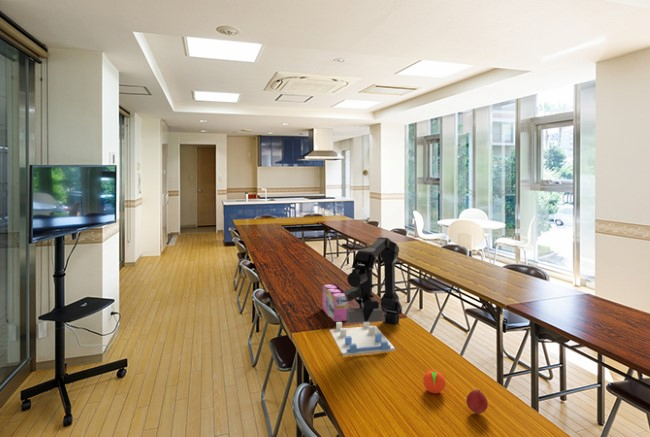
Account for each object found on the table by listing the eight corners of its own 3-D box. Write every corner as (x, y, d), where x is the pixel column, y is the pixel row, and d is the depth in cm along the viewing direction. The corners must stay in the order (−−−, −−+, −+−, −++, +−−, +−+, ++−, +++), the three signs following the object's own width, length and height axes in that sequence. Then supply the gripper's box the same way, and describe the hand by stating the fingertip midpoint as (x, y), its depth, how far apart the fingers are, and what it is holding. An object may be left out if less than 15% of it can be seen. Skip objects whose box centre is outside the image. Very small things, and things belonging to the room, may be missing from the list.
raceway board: (375, 327, 179) (375, 319, 178) (395, 351, 154) (395, 341, 154) (329, 331, 174) (329, 322, 174) (342, 356, 150) (342, 346, 149)
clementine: (445, 401, 120) (446, 379, 119) (422, 397, 122) (423, 376, 121) (444, 387, 128) (445, 367, 127) (423, 384, 129) (423, 364, 129)
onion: (463, 414, 113) (464, 389, 112) (469, 405, 117) (470, 381, 117) (483, 422, 109) (485, 396, 108) (489, 412, 114) (490, 387, 113)
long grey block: (379, 317, 159) (379, 306, 159) (382, 320, 155) (382, 310, 155) (346, 319, 157) (346, 308, 156) (348, 323, 153) (348, 312, 152)
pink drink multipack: (321, 308, 206) (321, 283, 205) (335, 306, 208) (335, 282, 207) (334, 324, 183) (334, 296, 182) (349, 322, 185) (349, 295, 184)
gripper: (340, 276, 162) (340, 312, 164) (351, 288, 144) (351, 328, 145) (365, 275, 164) (365, 311, 166) (380, 287, 146) (379, 327, 147)
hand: (364, 319), depth 156 cm, fingers closed on long grey block, 4 cm apart
